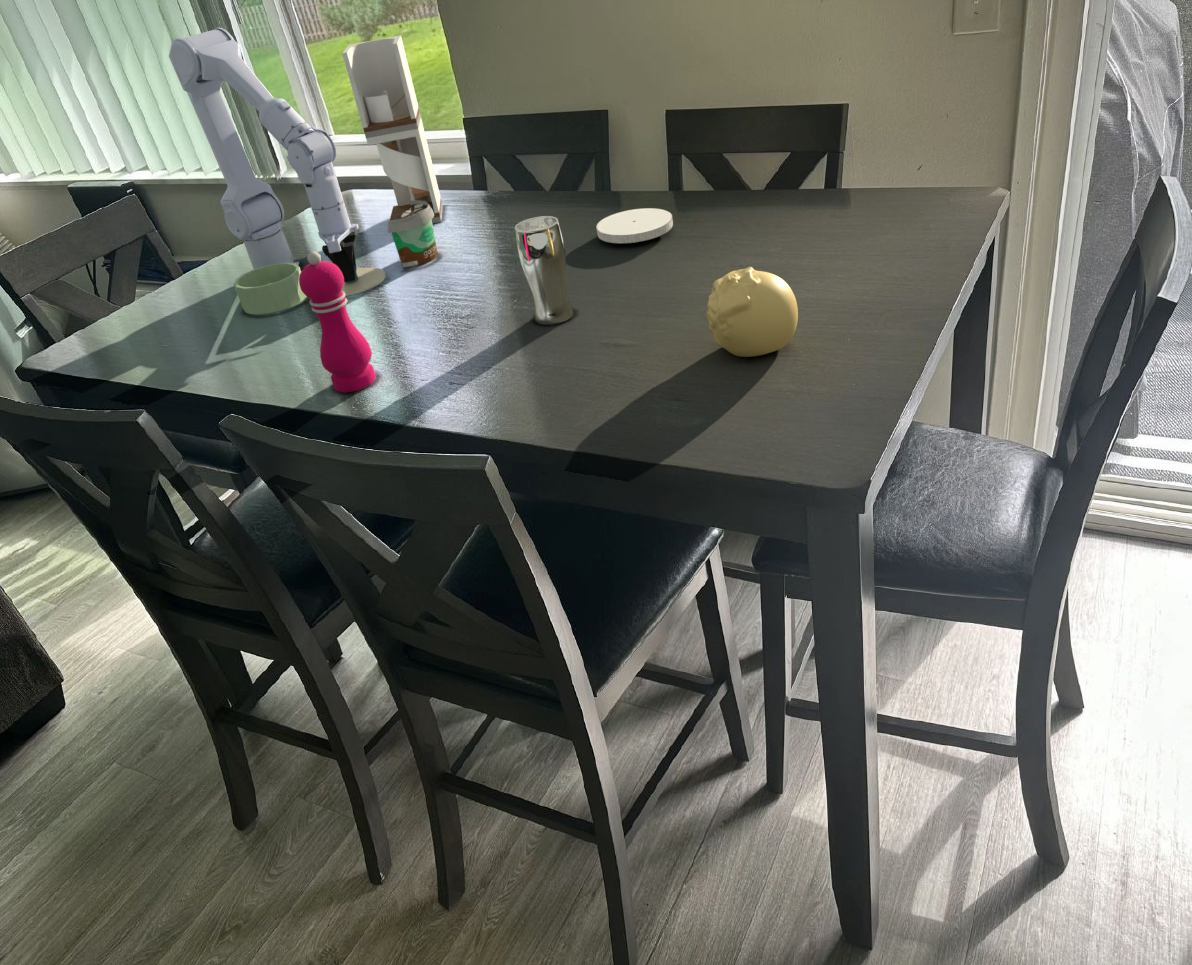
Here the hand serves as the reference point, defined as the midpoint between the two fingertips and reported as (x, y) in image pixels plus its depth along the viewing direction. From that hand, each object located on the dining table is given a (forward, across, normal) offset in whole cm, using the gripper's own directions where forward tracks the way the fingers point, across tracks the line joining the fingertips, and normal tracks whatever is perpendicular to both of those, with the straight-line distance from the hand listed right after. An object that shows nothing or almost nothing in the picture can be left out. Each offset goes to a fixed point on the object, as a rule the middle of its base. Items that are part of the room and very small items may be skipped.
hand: (350, 277), depth 171 cm
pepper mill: (+2, -42, -3) cm, 42 cm away
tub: (+2, -1, +14) cm, 14 cm away
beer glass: (+2, -33, -34) cm, 47 cm away
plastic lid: (+2, -3, -53) cm, 53 cm away
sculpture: (+2, -57, -59) cm, 82 cm away
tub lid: (+1, 0, 0) cm, 1 cm away
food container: (+2, +6, -14) cm, 15 cm away
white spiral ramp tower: (+2, +35, -12) cm, 37 cm away
